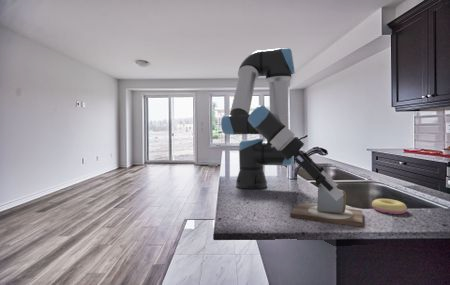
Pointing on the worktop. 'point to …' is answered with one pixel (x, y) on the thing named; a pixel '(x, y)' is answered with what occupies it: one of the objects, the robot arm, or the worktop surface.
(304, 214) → the walnut board
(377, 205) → the donut
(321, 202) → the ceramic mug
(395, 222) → the worktop surface
